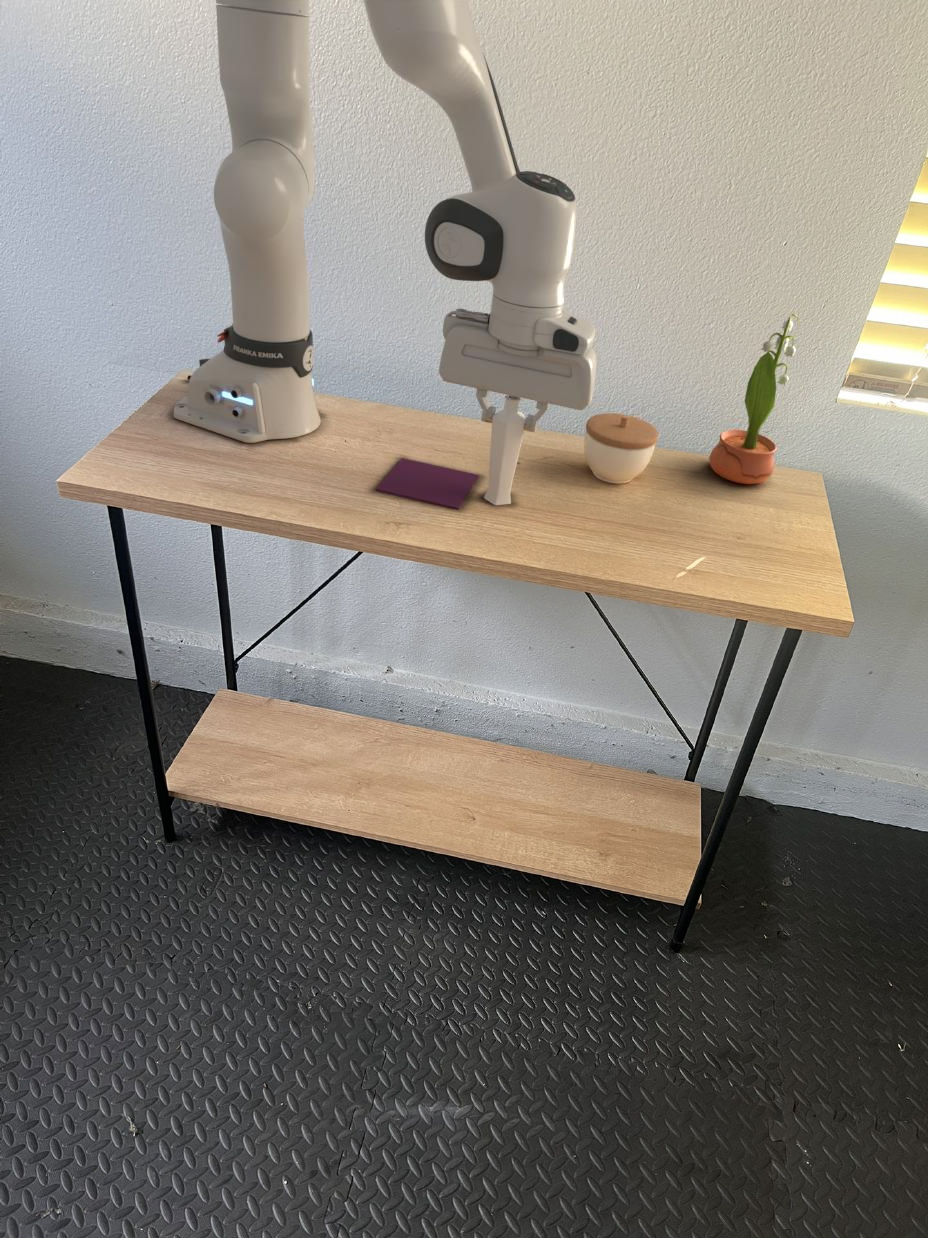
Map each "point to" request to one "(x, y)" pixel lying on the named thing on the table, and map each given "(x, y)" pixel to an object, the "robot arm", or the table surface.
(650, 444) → the trinket box
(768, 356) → the potted flower
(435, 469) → the cloth
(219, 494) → the table surface
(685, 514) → the table surface
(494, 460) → the white faceted vase
